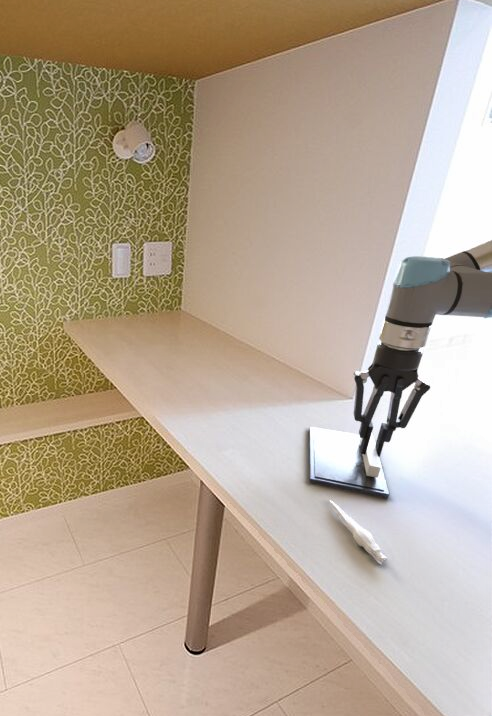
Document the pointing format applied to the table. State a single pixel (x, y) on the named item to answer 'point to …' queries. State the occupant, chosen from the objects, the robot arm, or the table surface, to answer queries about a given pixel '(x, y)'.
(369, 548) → the white tapered piece
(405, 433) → the table surface
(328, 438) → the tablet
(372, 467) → the white rectangular bar
